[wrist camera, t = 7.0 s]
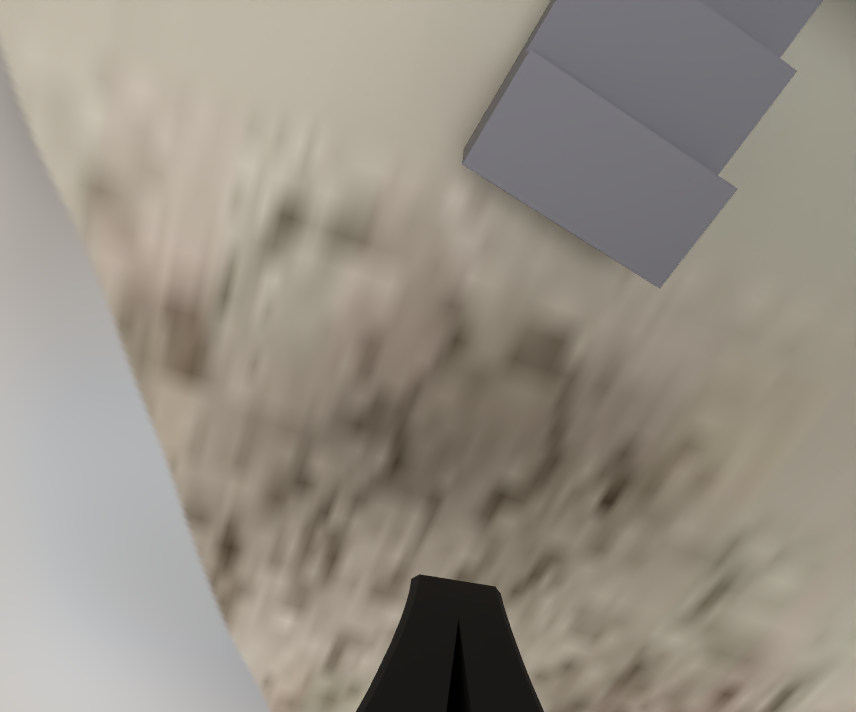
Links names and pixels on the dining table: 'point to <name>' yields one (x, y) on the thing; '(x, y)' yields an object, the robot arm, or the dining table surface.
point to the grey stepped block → (635, 117)
